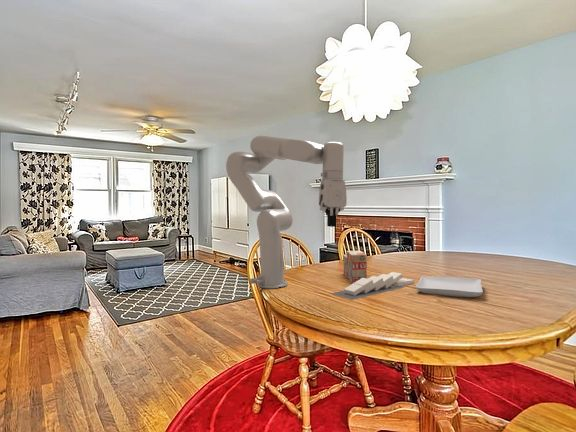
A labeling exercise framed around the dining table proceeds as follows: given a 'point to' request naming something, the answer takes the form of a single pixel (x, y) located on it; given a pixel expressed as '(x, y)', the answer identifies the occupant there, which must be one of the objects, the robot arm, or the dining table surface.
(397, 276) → the domino
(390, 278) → the domino
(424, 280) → the salad plate
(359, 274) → the cardboard box
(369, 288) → the domino
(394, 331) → the dining table surface
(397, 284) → the domino
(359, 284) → the domino
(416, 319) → the dining table surface
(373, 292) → the domino mat
